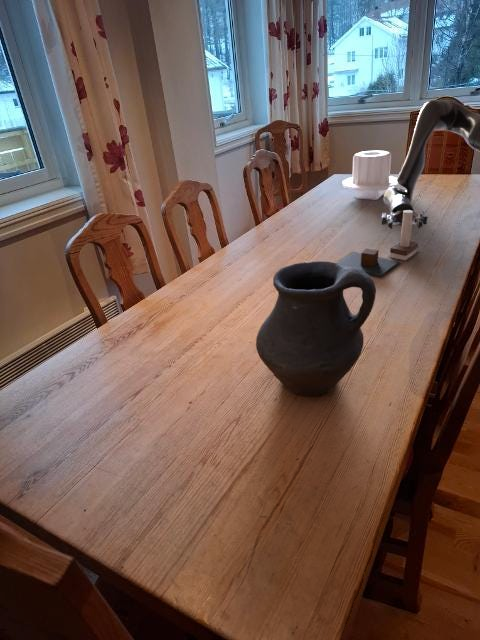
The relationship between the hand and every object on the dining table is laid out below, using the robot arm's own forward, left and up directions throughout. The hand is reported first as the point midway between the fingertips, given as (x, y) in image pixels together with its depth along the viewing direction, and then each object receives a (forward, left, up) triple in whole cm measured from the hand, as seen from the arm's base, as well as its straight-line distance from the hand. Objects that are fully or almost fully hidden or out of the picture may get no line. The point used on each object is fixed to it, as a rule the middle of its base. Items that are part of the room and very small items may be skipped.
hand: (405, 225), depth 137 cm
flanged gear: (+42, -55, -9) cm, 70 cm away
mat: (+4, +16, -9) cm, 19 cm away
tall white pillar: (-2, +3, -9) cm, 9 cm away
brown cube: (+3, +16, -8) cm, 18 cm away
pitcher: (-16, +73, -9) cm, 76 cm away
